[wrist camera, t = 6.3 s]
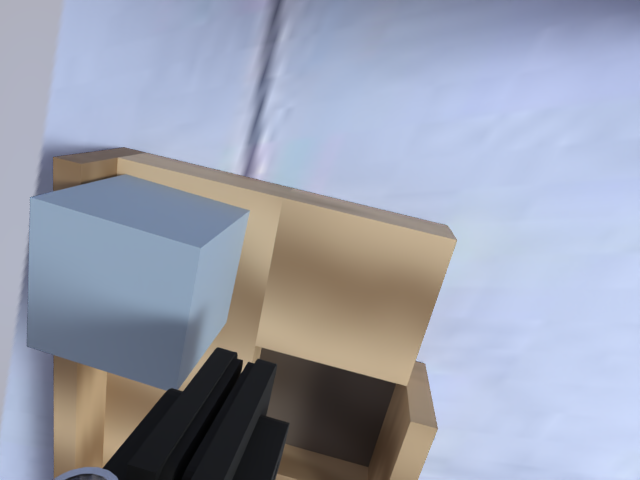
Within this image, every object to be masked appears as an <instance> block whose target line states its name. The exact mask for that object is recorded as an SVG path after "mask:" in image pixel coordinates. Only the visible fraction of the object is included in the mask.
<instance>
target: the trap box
mask: <svg viewBox="0 0 640 480" xmlns="http://www.w3.org/2000/svg"><path fill="white" fill-rule="evenodd" d="M124 174H127V175H131V176H134V177H138V178H141V179H144V180H148V181H151V182H155V183H158V184H161V185H165V186H168V187H172V188H175V189H179V190H182V191H185V192H189V193H192V194H196V195H199V196H202V197H206V198H209V199H213V200H216V201H219V202H223V203H226V204H230V205H233V206H237V207H240V208H243V209H247V210H250V213H249V217H248V222H247V227H246V232H245V236H244V241H243V246H242V251H241V255H240V260H239V265H238V270H237V274H236V279H235V284H234V289H233V293H232V298H231V303H230V308H229V312H228V317H227V322H226V324H225V325H224V327H223V328H222V329H221V331H220V332H219V334H218V335H217V336H216V338H215V339H214V341H213V342H212V343H211V345H210V346H209V348H208V349H207V350H206V352H205V353H204V355H203V356H202V357H201V359H200V360H199V361H198V363H197V364H196V366H195V367H194V368H193V370H192V371H191V373H190V374H189V375H188V377H187V378H186V380H185V381H184V382H183V384H182V385H181V387H180V388H179V389H178V390H180V391H184V389H185V388H186V387H187V385H188V384H189V383H190V381H191V380H192V379H193V378H194V376H195V375H196V374H197V372H198V371H199V370H200V368H201V367H202V366H203V364H204V363H205V362H206V361H207V359H208V358H209V357H210V355H211V354H212V353H213V351H214V350H215V349H216V348H217V347H219V348H223V349H226V350H230V351H233V352H237V354H238V357H237V358H238V359H241V360H243V366H242V371H243V370H244V368H245V366H246V364H247V363H248V362H251V363H255V362H256V360H257V359H262V360H265V361H269V362H272V363H276V364H277V370H276V374H275V379H274V384H273V388H272V393H271V397H270V402H269V406H268V411H267V415H266V416H268V417H271V418H275V419H278V420H281V421H285V422H288V423H290V424H289V429H288V433H287V438H286V442H285V446H284V450H283V454H282V458H281V461H280V465H279V468H278V472H277V476H276V479H275V480H418V478H419V475H420V473H421V470H422V468H423V465H424V463H425V460H426V458H427V455H428V452H429V450H430V447H431V445H432V442H433V440H434V437H435V435H436V432H437V429H438V427H437V422H436V417H435V412H434V407H433V402H432V397H431V392H430V387H429V381H428V376H427V371H426V366H425V364H424V363H420V362H416V358H417V355H418V352H419V349H420V346H421V343H422V341H423V338H424V335H425V332H426V329H427V326H428V323H429V320H430V317H431V314H432V312H433V309H434V306H435V303H436V300H437V297H438V294H439V291H440V288H441V286H442V283H443V280H444V277H445V274H446V271H447V268H448V265H449V262H450V259H451V257H452V254H453V251H454V248H455V245H456V242H457V239H456V238H455V236H454V235H453V233H452V231H451V230H450V228H449V227H448V226H447V225H443V224H439V223H435V222H431V221H427V220H423V219H418V218H414V217H410V216H406V215H402V214H398V213H394V212H389V211H385V210H381V209H377V208H373V207H369V206H365V205H360V204H356V203H352V202H348V201H344V200H340V199H336V198H332V197H327V196H323V195H319V194H315V193H311V192H307V191H303V190H298V189H294V188H290V187H286V186H282V185H278V184H274V183H269V182H265V181H261V180H257V179H253V178H249V177H245V176H240V175H236V174H232V173H228V172H224V171H220V170H216V169H211V168H207V167H203V166H199V165H195V164H191V163H187V162H182V161H178V160H174V159H170V158H166V157H162V156H158V155H153V154H149V153H145V152H141V151H137V150H133V149H129V148H116V149H109V150H101V151H94V152H86V153H79V154H72V155H64V156H57V157H53V191H58V190H62V189H66V188H70V187H74V186H78V185H82V184H87V183H91V182H95V181H99V180H103V179H107V178H111V177H116V176H120V175H124ZM242 371H241V373H242ZM165 392H166V390H162V389H159V388H156V387H153V386H150V385H147V384H143V383H140V382H137V381H134V380H131V379H128V378H125V377H121V376H118V375H115V374H112V373H109V372H106V371H102V370H99V369H96V368H93V367H90V366H87V365H84V364H80V363H77V362H74V361H71V360H68V359H65V358H62V357H58V356H55V355H54V479H55V478H56V477H57V476H59V475H61V474H64V473H66V472H68V471H71V470H73V469H78V468H83V467H99V468H103V467H104V466H105V464H106V463H107V462H108V461H109V460H110V458H111V457H112V456H113V455H114V454H115V452H116V451H117V450H118V449H119V448H120V446H121V445H122V444H123V443H124V442H125V440H126V439H127V438H128V437H129V435H130V434H131V433H132V432H133V431H134V429H135V428H136V427H137V426H138V425H139V423H140V422H141V421H142V420H143V419H144V417H145V416H146V415H147V414H148V413H149V411H150V410H151V409H152V408H153V407H154V405H155V404H156V403H157V402H158V400H159V399H160V398H161V397H162V396H163V394H164V393H165Z"/></svg>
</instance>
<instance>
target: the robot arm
mask: <svg viewBox="0 0 640 480" xmlns="http://www.w3.org/2000/svg"><path fill="white" fill-rule="evenodd" d="M237 357H238V354H237V352H233V351H230V350H226V349H223V348H219V347H217V348H216V349H215V350H214V351H213V353H212V354H211V355H210V357H209V358H208V359H207V361H206V362H205V363H204V364H203V366H202V367H201V368H200V370H199V371H198V372H197V374H196V375H195V376H194V378H193V379H192V380H191V381H190V383H189V384H188V385H187V387H186V388H185V389H184V391H180V390H177V389H174V388H170V389H168V390H167V391H166V392H165V393H164V394H163V396H162V397H161V398H160V399H159V400H158V402H157V403H156V404H155V405H154V407H153V408H152V409H151V410H150V411H149V413H148V414H147V415H146V416H145V417H144V419H143V420H142V421H141V422H140V423H139V425H138V426H137V427H136V428H135V429H134V431H133V432H132V433H131V434H130V435H129V437H128V438H127V439H126V440H125V442H124V443H123V444H122V445H121V446H120V448H119V449H118V450H117V451H116V452H115V454H114V455H113V456H112V457H111V458H110V460H109V461H108V462H107V463H106V464H105V466H104V467H103V468H99V467H83V468H78V469H73V470H71V471H68V472H66V473H64V474H61V475H59V476H57V477H56V478H55V479H53V480H275V479H276V476H277V472H278V468H279V465H280V461H281V458H282V454H283V450H284V446H285V442H286V438H287V433H288V429H289V424H290V423H288V422H285V421H281V420H278V419H275V418H271V417H268V416H266V415H267V411H268V406H269V402H270V397H271V393H272V388H273V384H274V379H275V374H276V370H277V364H276V363H272V362H269V361H265V360H262V359H257V360H256V362H255V363H251V362H248V363H247V364H246V366H245V368H244V370H243V371H242V366H243V360H241V359H238V358H237ZM241 371H242V373H241Z"/></svg>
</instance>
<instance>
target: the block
mask: <svg viewBox="0 0 640 480" xmlns="http://www.w3.org/2000/svg"><path fill="white" fill-rule="evenodd" d="M249 213H250V210H247V209H243V208H240V207H237V206H233V205H230V204H226V203H223V202H219V201H216V200H213V199H209V198H206V197H202V196H199V195H196V194H192V193H189V192H185V191H182V190H179V189H175V188H172V187H168V186H165V185H161V184H158V183H155V182H151V181H148V180H144V179H141V178H138V177H134V176H131V175H127V174H124V175H120V176H116V177H111V178H107V179H103V180H99V181H95V182H91V183H87V184H82V185H78V186H74V187H70V188H66V189H62V190H58V191H53V192H49V193H45V194H41V195H37V196H33V197H30V225H29V270H28V315H27V347H30V348H33V349H36V350H39V351H43V352H46V353H49V354H52V355H55V356H58V357H62V358H65V359H68V360H71V361H74V362H77V363H80V364H84V365H87V366H90V367H93V368H96V369H99V370H102V371H106V372H109V373H112V374H115V375H118V376H121V377H125V378H128V379H131V380H134V381H137V382H140V383H143V384H147V385H150V386H153V387H156V388H159V389H162V390H166V391H167V390H168V389H170V388H174V389H177V390H178V389H179V388H180V387H181V385H182V384H183V382H184V381H185V380H186V378H187V377H188V375H189V374H190V373H191V371H192V370H193V368H194V367H195V366H196V364H197V363H198V361H199V360H200V359H201V357H202V356H203V355H204V353H205V352H206V350H207V349H208V348H209V346H210V345H211V343H212V342H213V341H214V339H215V338H216V336H217V335H218V334H219V332H220V331H221V329H222V328H223V327H224V325H225V324H226V322H227V317H228V312H229V308H230V303H231V298H232V293H233V289H234V284H235V279H236V274H237V270H238V265H239V260H240V255H241V251H242V246H243V241H244V236H245V232H246V227H247V222H248V217H249Z"/></svg>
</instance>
